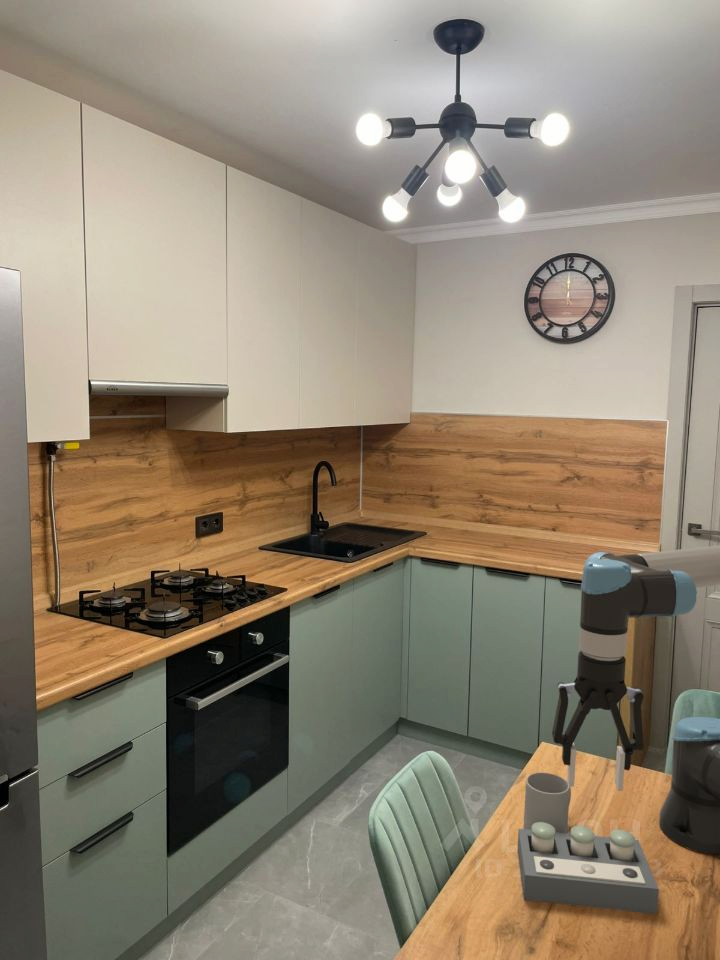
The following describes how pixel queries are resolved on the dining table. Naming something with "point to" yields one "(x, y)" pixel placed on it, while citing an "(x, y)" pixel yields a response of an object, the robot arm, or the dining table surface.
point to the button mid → (582, 841)
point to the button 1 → (542, 838)
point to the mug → (547, 801)
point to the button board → (582, 888)
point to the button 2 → (621, 845)
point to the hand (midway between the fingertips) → (594, 784)
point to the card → (588, 870)
